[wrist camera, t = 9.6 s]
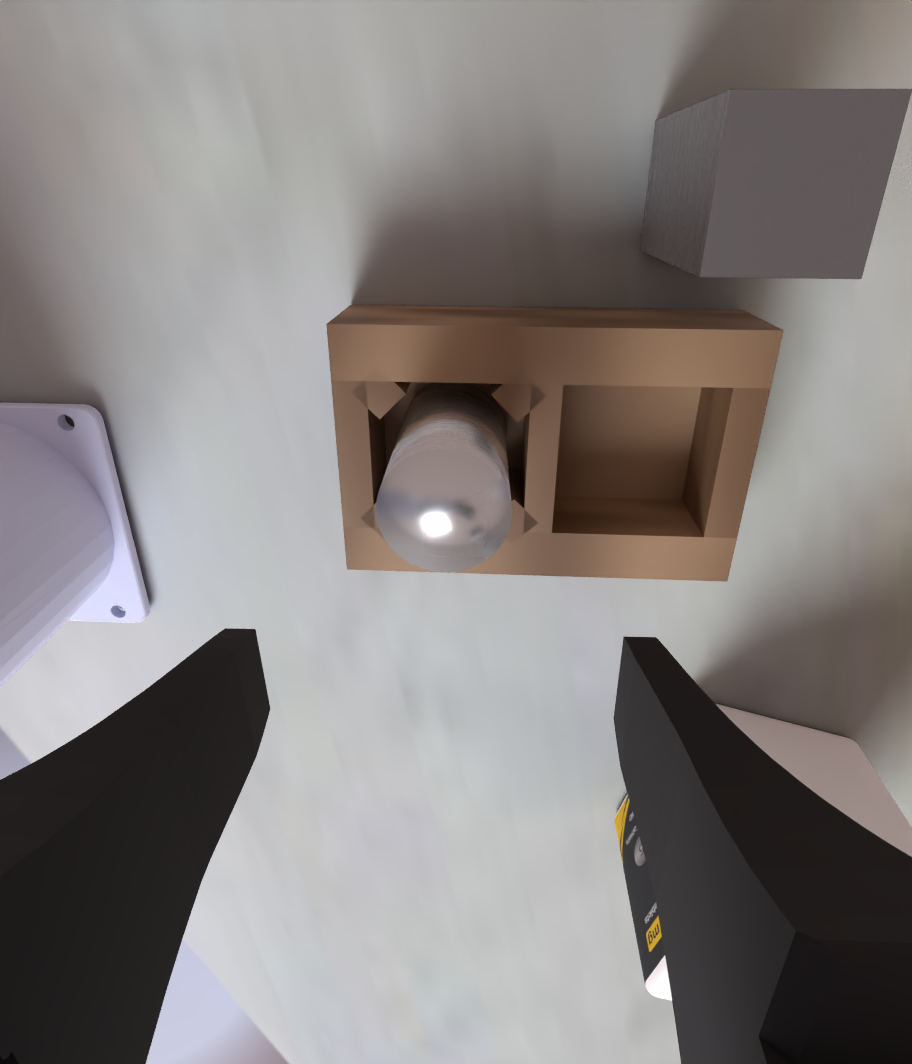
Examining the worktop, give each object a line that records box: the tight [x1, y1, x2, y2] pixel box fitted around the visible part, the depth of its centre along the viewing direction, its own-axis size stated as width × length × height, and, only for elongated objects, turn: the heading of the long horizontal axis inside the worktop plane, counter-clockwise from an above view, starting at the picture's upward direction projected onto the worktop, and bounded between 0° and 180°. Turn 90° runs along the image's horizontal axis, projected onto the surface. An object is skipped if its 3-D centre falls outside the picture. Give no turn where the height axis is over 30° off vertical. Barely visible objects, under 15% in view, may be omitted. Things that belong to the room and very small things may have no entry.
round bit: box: [376, 382, 512, 572], centre depth 17 cm, size 3×3×6 cm
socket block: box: [327, 305, 783, 581], centre depth 19 cm, size 11×7×3 cm, turn 90°
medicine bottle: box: [615, 704, 912, 1000], centre depth 21 cm, size 7×7×12 cm
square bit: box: [640, 89, 912, 279], centre depth 15 cm, size 3×3×6 cm
